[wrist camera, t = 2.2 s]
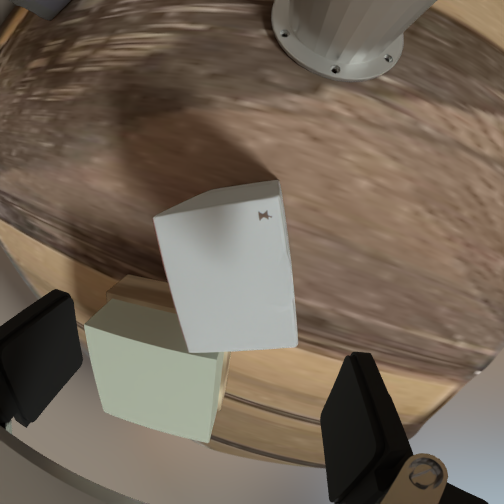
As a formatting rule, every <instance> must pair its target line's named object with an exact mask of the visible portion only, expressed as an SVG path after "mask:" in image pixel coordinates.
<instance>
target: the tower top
mask: <svg viewBox="0 0 504 504" xmlns="http://www.w3.org/2000/svg"><path fill="white" fill-rule="evenodd" d="M84 327H85V333H86V339H87V344H88V349H89V354H90V359H91V364H92V368H93V372H94V377H95V381H96V385H97V388H98V392H99V396H100V400H101V403H102V406H103V410H104V412H106V413H108V414H111V415H113V416H116V417H119V418H121V419H124V420H127V421H130V422H133V423H136V424H139V425H142V426H145V427H148V428H151V429H155V430H158V431H161V432H165V433H169V434H172V435H176V436H180V437H184V438H188V439H192V440H197V441H201V442H206V443H209V440H210V436H211V432H212V428H213V424H214V420H215V416H216V412H217V408H218V400H219V391H220V383H221V374H222V366H223V358H224V352H208V353H190V352H188V349H187V346H186V343H185V340H184V337H183V333H182V330H181V327H180V324H179V320H178V317H177V314H175V313H170V312H166V311H162V310H157V309H153V308H149V307H145V306H140V305H136V304H132V303H128V302H124V301H121V300H117V299H113V298H112V299H111V300H110V301H109V302H108V303H107V304H106V305H105V306H103V307H102V308H101V309H100V310H99V311H98V312H97V313H96V314H95V315H94V316H93V317H92V318H90V319H89V320H88V321H87V322H86V323H85V324H84Z"/></svg>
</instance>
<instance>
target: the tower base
mask: <svg viewBox="0 0 504 504" xmlns="http://www.w3.org/2000/svg"><path fill="white" fill-rule="evenodd" d="M106 297H107V303H108V302H109V301H110V300H111V299H112V298H113V299H117V300H121V301H124V302H128V303H132V304H136V305H140V306H145V307H149V308H153V309H157V310H162V311H166V312H170V313H175V314H176V310H175V307H174V304H173V300H172V296H171V293H170V289H169V285H168V283H167V282H162V281H157V280H153V279H148V278H143V277H138V276H134V275H129V274H128V275H127V276H125V277H124V278H123V279H122V280H120V281H119V282H118V283H117V284H116V285H114V286H113V287H112V288H111V289H109V290H108V291H107V292H106ZM230 357H231V352H224V358H223V366H222V374H221V383H220V391H219V400H218V408H217V411H221V407H222V402H223V398H224V394H225V389H226V385H227V379H228V372H229V364H230Z"/></svg>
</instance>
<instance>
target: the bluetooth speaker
mask: <svg viewBox="0 0 504 504" xmlns="http://www.w3.org/2000/svg"><path fill="white" fill-rule="evenodd" d="M9 1H10V2H12V3H13V4H15V5H18V6H21V7H24V8H26V9H28V10H30V11H32V12H33V13H35V14H37V15H38V16H39V17H41V18H43V19H46V20H49V21H51V20H52V19H53V18H54V17H55V16H56V15H57V14H58V13H59V12H60V11H61V10H62V9H63V8H64V7H65V6H66V5H67V4H68V3H69V2H70V1H71V0H9Z"/></svg>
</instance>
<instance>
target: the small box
mask: <svg viewBox="0 0 504 504" xmlns="http://www.w3.org/2000/svg"><path fill="white" fill-rule="evenodd" d="M153 224H154V229H155V233H156V237H157V241H158V246H159V250H160V254H161V258H162V262H163V266H164V270H165V274H166V278H167V281H168V285H169V289H170V293H171V296H172V300H173V304H174V307H175V310H176V314H177V317H178V320H179V324H180V327H181V330H182V333H183V337H184V340H185V343H186V346H187V349H188V352H190V353H208V352H231V351H247V350H264V349H278V348H291V347H296V346H297V345H298V333H297V320H296V309H295V298H294V286H293V276H292V266H291V257H290V249H289V241H288V233H287V225H286V218H285V211H284V204H283V198H282V192H281V187H280V182H279V180H272V181H264V182H257V183H250V184H244V185H237V186H231V187H224V188H218V189H212V190H209V191H207V192H204V193H202V194H199V195H197V196H195V197H193V198H191V199H189V200H186V201H184V202H182V203H180V204H178V205H176V206H173V207H171V208H169V209H167V210H165V211H163V212H161V213H159V214H157V215H156V216H154V217H153Z"/></svg>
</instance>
